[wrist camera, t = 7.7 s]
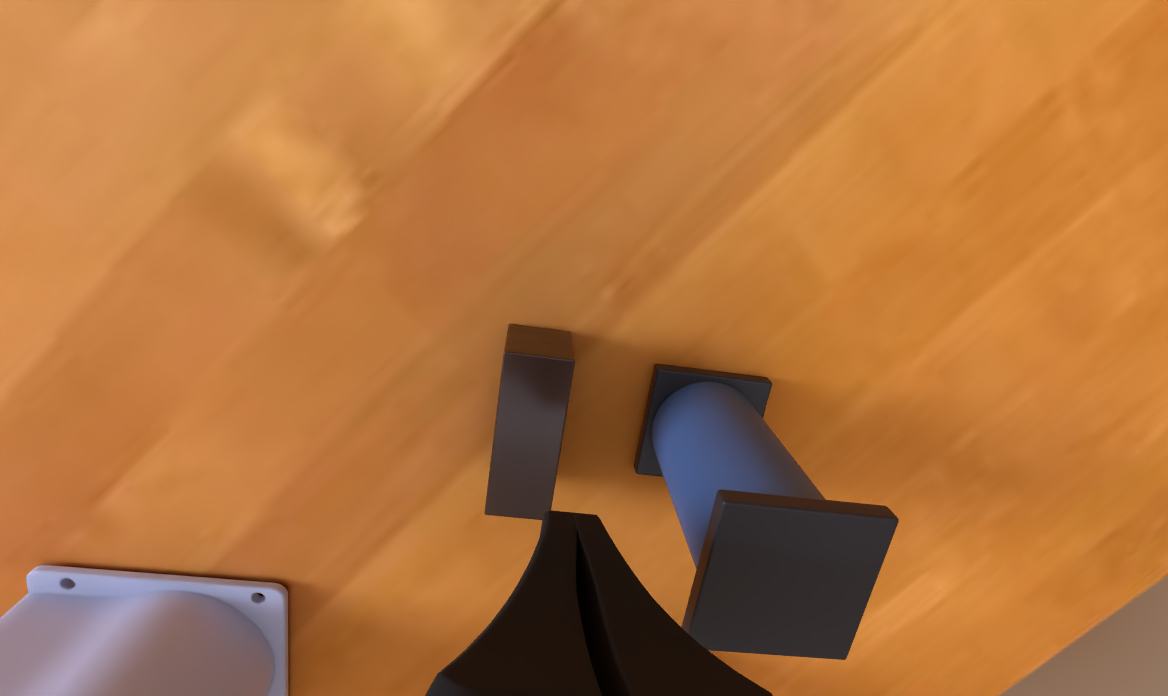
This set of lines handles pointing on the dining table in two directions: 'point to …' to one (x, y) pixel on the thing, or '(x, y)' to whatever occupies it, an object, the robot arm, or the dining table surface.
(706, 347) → the dining table surface
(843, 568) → the spool
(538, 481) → the block
